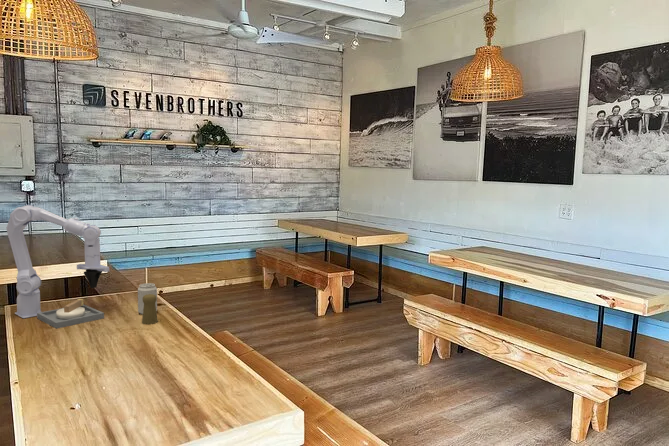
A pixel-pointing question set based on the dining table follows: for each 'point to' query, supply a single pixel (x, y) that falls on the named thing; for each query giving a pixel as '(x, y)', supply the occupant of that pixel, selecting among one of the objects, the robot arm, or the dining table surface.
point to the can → (145, 290)
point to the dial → (71, 310)
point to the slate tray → (55, 322)
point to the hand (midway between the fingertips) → (93, 287)
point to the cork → (149, 309)
